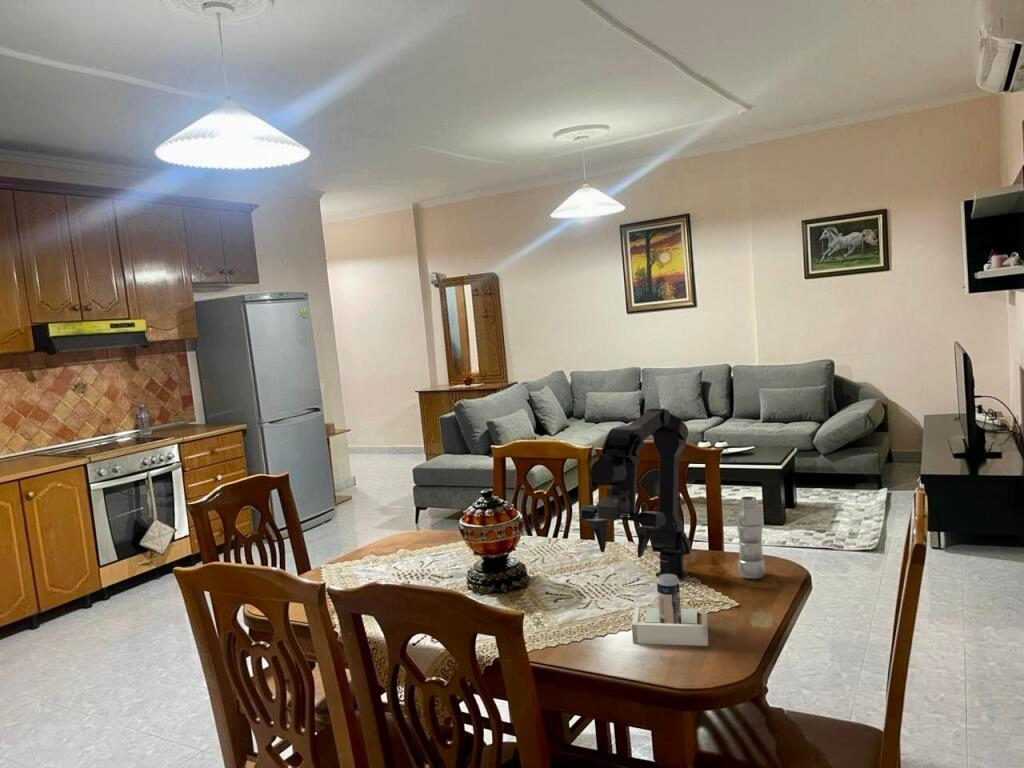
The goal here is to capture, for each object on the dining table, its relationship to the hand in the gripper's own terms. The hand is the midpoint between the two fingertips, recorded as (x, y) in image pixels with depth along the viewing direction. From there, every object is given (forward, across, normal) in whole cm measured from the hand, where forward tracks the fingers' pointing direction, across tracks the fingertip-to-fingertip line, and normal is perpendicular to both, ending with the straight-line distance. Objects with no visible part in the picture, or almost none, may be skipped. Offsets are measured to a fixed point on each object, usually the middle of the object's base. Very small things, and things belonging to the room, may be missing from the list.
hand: (620, 554), depth 164 cm
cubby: (+15, +13, -2) cm, 20 cm away
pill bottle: (+14, +13, -1) cm, 19 cm away
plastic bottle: (+7, +18, +36) cm, 41 cm away
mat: (+13, +10, +5) cm, 17 cm away
